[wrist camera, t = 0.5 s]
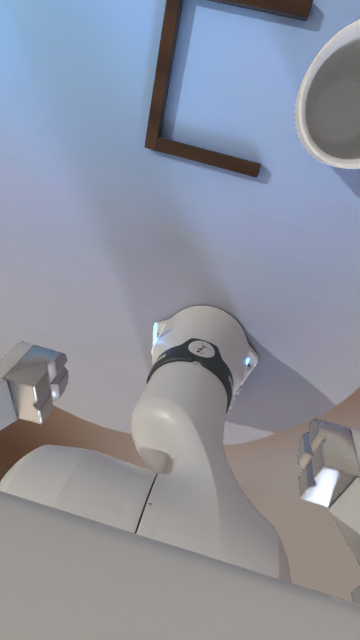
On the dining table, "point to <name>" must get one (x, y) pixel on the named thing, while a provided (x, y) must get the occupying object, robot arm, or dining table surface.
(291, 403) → the dining table surface
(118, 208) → the dining table surface
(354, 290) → the dining table surface
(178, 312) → the robot arm
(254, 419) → the dining table surface
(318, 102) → the mug
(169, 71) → the bay rails
